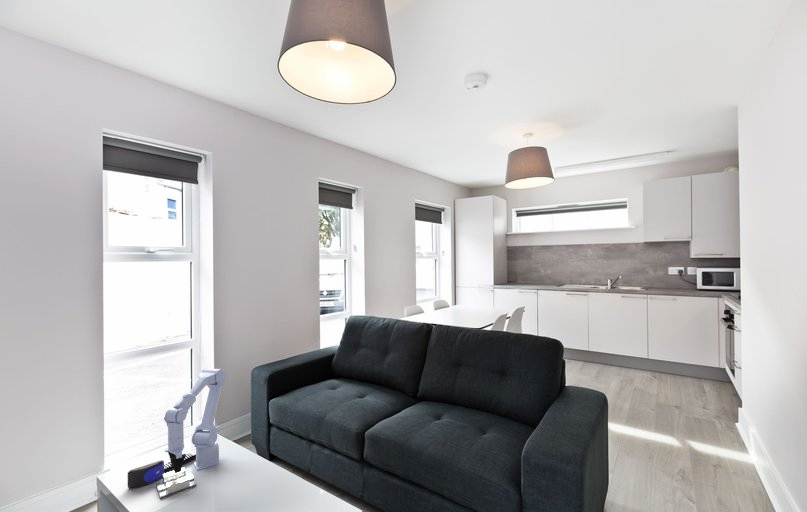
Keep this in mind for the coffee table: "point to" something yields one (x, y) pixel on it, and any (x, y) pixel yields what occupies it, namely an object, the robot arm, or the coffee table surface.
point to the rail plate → (175, 483)
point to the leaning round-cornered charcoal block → (145, 474)
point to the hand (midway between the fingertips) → (176, 468)
